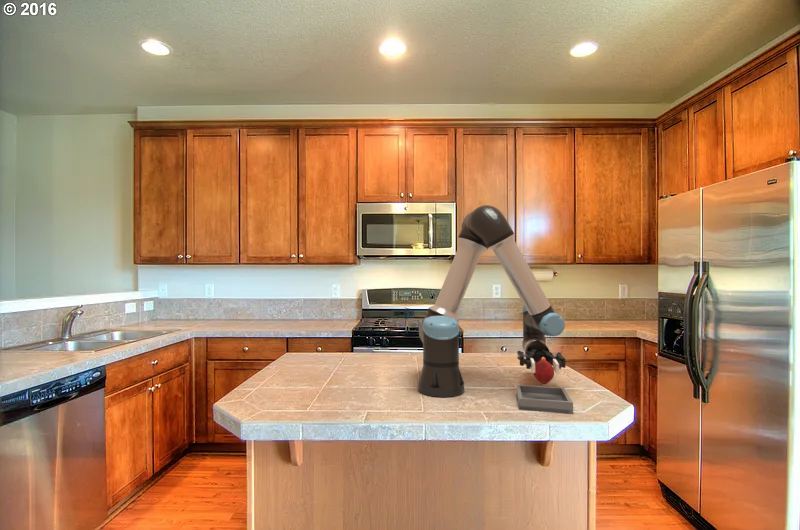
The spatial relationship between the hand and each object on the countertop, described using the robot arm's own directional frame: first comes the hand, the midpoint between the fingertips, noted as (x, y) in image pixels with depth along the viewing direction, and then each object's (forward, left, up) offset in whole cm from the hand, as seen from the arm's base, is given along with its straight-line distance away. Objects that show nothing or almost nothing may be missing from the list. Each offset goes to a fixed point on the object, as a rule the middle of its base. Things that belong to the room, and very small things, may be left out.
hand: (545, 368), depth 107 cm
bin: (+3, +4, -11) cm, 12 cm away
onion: (+3, +4, -6) cm, 8 cm away
